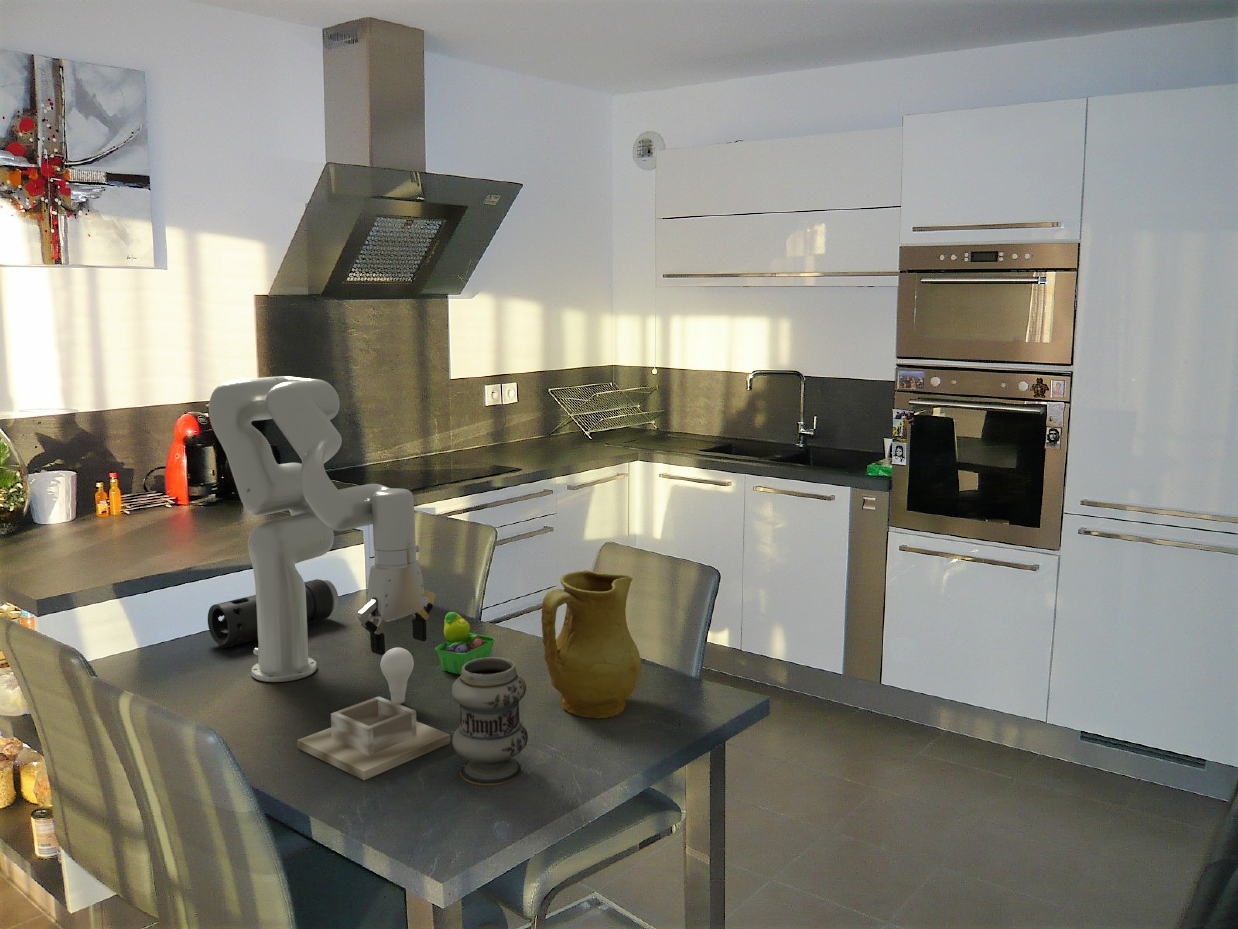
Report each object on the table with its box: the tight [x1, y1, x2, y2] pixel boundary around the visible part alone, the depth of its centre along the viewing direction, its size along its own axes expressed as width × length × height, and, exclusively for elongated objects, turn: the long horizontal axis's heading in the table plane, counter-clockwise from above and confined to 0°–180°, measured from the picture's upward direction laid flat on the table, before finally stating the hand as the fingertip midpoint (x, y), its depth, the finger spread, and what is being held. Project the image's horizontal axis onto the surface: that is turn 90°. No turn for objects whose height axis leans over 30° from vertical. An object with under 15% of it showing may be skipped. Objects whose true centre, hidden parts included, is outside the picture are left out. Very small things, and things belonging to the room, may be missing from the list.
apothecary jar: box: [451, 656, 529, 786], centre depth 162 cm, size 12×12×18 cm
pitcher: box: [540, 569, 642, 719], centre depth 188 cm, size 17×19×25 cm
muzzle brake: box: [207, 579, 340, 649], centre depth 229 cm, size 10×28×10 cm, turn 141°
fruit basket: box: [435, 611, 496, 676], centre depth 210 cm, size 11×9×11 cm
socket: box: [297, 695, 451, 781], centre depth 172 cm, size 18×18×6 cm
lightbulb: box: [379, 647, 415, 705], centre depth 189 cm, size 6×6×11 cm
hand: (399, 646), depth 188 cm, fingers open, 9 cm apart
